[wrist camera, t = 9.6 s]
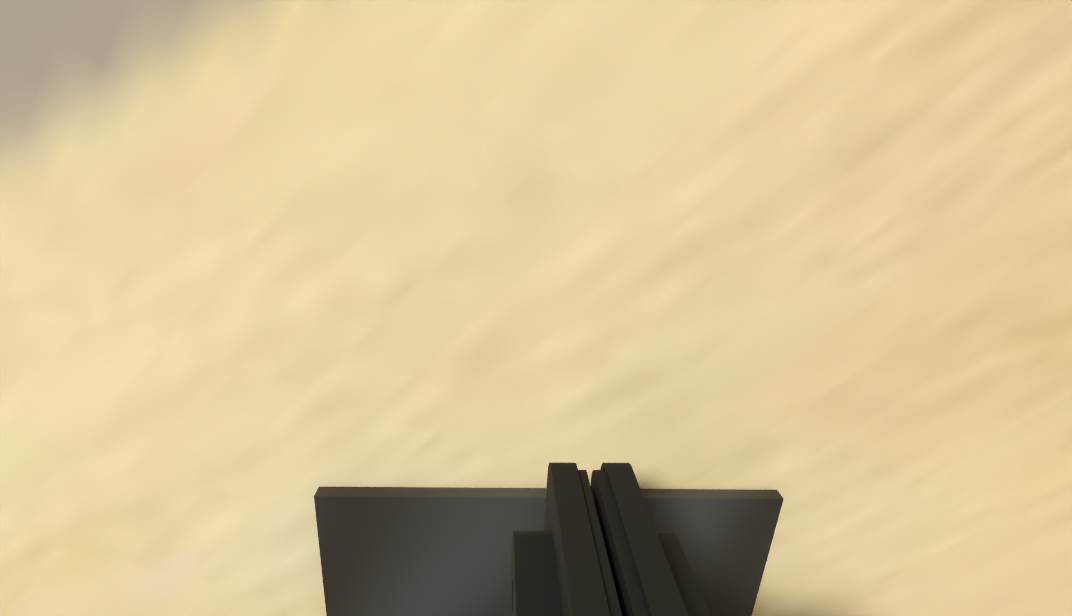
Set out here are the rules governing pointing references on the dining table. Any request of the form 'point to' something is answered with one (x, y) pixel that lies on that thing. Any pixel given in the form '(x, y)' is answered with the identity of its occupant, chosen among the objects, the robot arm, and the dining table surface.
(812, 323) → the dining table surface
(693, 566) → the tunnel
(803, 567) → the dining table surface
